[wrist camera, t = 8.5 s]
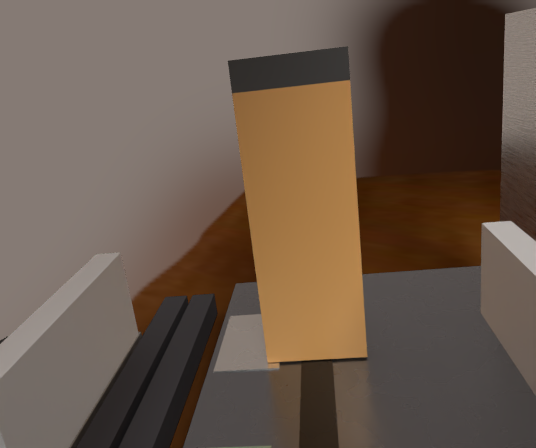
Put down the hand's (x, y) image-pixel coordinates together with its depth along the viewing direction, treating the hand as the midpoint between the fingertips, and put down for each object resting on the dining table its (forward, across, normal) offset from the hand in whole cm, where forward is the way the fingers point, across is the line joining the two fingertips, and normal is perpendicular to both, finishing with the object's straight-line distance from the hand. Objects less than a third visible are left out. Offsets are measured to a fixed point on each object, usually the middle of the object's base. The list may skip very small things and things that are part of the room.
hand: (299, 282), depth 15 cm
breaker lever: (+9, 0, -7) cm, 11 cm away
